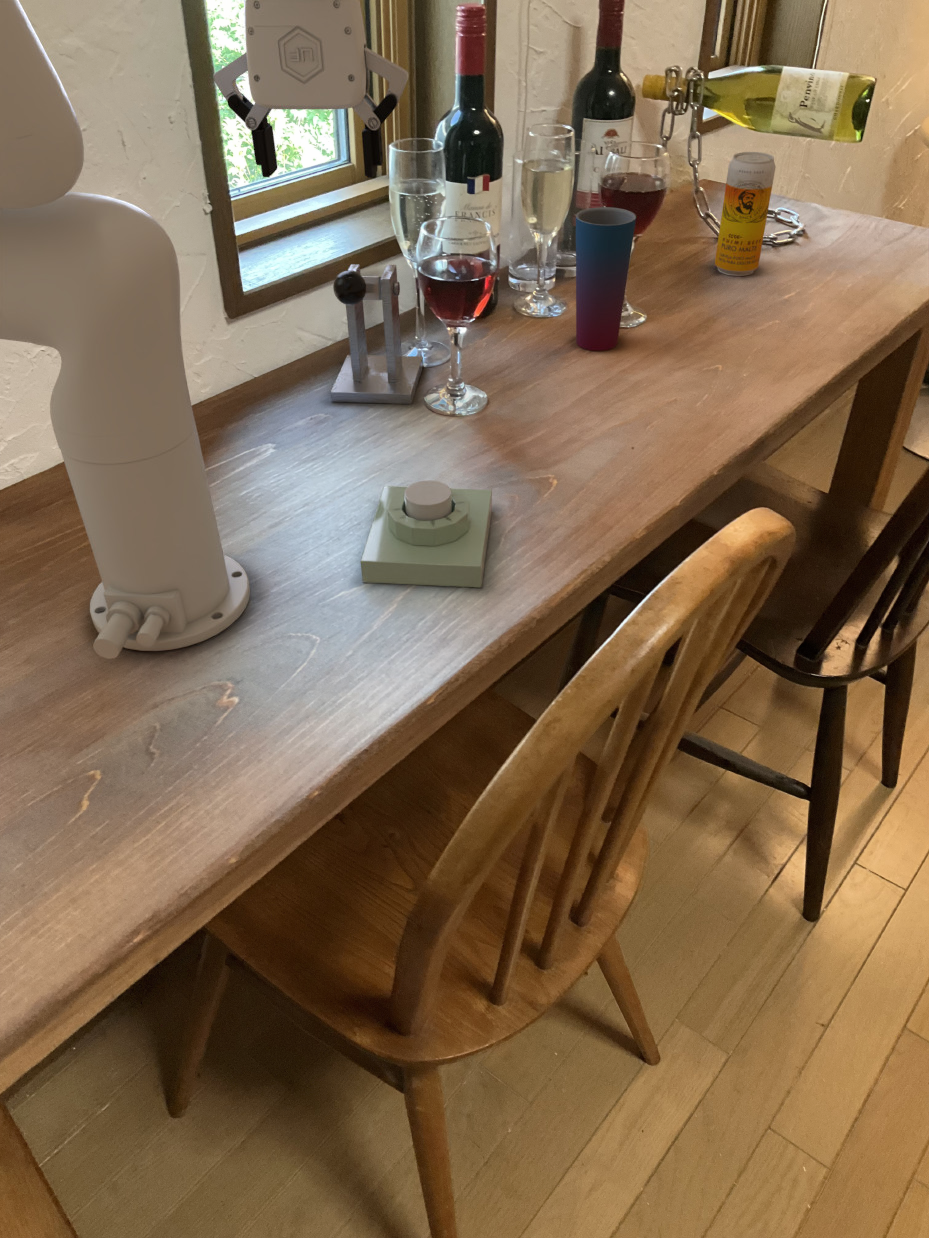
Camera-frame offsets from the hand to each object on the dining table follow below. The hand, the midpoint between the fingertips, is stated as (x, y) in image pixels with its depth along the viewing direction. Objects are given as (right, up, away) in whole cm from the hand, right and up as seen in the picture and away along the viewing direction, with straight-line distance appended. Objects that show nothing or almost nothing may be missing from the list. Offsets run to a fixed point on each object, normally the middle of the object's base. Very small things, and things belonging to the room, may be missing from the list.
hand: (320, 173), depth 90 cm
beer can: (+52, +8, +48) cm, 71 cm away
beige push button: (+10, -32, -8) cm, 35 cm away
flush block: (+10, -35, -5) cm, 37 cm away
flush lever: (+3, -9, +9) cm, 13 cm away
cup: (+30, -8, +28) cm, 42 cm away
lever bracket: (+4, -15, +20) cm, 25 cm away
